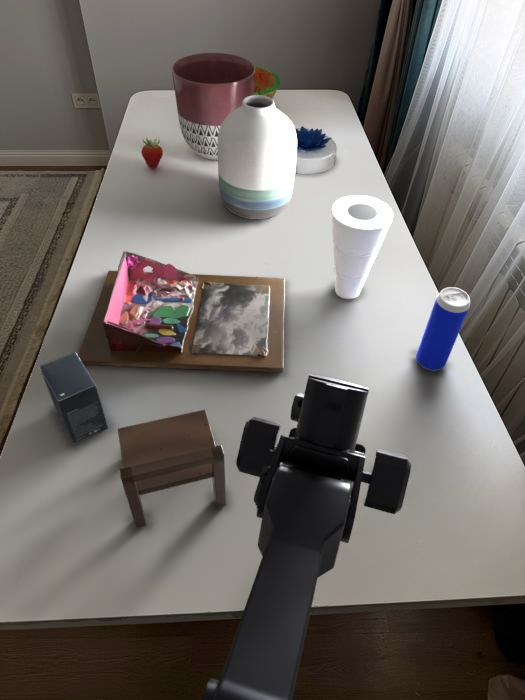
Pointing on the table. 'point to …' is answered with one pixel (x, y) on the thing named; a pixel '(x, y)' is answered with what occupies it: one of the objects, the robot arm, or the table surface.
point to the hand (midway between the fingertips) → (326, 450)
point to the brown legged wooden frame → (169, 458)
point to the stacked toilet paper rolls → (357, 240)
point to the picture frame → (185, 320)
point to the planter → (209, 95)
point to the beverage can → (443, 328)
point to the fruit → (152, 153)
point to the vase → (256, 159)
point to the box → (74, 397)
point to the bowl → (265, 82)
